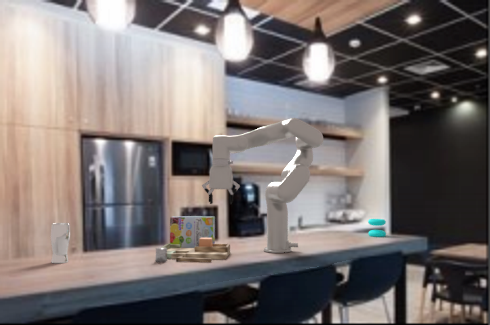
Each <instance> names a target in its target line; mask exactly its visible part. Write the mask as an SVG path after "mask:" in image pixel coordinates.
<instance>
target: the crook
mask: <svg viewBox="0 0 490 325" xmlns="http://www.w3.org/2000/svg"><path fill="white" fill-rule="evenodd" d="M212 260H213V259H212V258H184V256H179V257H177V258H176V259H175V262H182V261H190V262H189V263H191V262H192V263H212V262H211V261H212Z"/></svg>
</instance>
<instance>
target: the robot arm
mask: <svg viewBox="0 0 490 325" xmlns="http://www.w3.org/2000/svg"><path fill="white" fill-rule="evenodd" d="M294 137H295V145H296V153H295V155H294V157H293V158H292V160H291V161H290V162H289V163H288V164H287V165H286V166H285V168H284V169H283V170H282V171H281V174H280V175H281V176H280V178H281V181H273V182H270V183H269V184H268V185H267V186H266V189H265V193H264V196H265V201H266V202H265V203H266V247H263V252H266V253H273V254H280V253H282V254H284V252H285V253H290V252H292V248H299V243H298V242H290V241H289V233H288V232H289V231H288V230H289V229H288V228H289V223H288V222H289V221H288V219H289V217H288V216H289V215H288V213H289V212H288V204H289V203H291V202H293V201H294V200H295V199H296V198H297V197H298V196H299V195H300V193H301V192H302V191H303V190H304V188H305V187H306V186H307V184H308V183H309V181H310V179H311V171H310V167H311V165H312V164H313V160H314V152H313V149H315V148H318V147H320V146H321V145H322V144H323V142H324V136H323V133H322V132H321V131H320V130H319V129H318V128H316V127H315V126H313V125H311V124H309V123H307V122H305V121H304V120H302V119H299V118H296V117H291V118H288V119H284V120H280V121H278V122H275V123H271V124H268V125H265V126H261V127H258V128H257V129H254V130H251V131H248V132H245V133H243V134H238V135H225V134H224V135H223V134H222V135H221V134H219V135H214V136H213V137H212V166H211V167H210V170H209V178H208V180H207V181H206V182H205V183H203V184H202V185H201V186H202V187H201V188H202V189H203V190H204V192H206V193H207V195H208V203H209V204H210V205H213V203H214V201H213V200H214V199H213V198H214V195H213V192H214V191H215V190H228V193H229V195H228V201H229V202H228V204H229V205H232V203H233V202H234V194H235V193H236V192H238V189H239V188H240V187H241V186H240V184H238V183H237V182H236V181H234V177H233V169H232V166H231V165H234V160H231V158H230V156H231V155H230V154H232V155H233V154H239V153H242V152H245V151H247V150H250V149H253V148H254V149H255V148H257V147H259V148H260V147H265V146H268V145H271V144H274V143H277V142H280V141H283V140H287V139H289V138H294ZM207 186H208V187H207ZM233 186H235V187H234V189H233ZM208 188H209V189H208Z"/></svg>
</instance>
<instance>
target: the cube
mask: <svg viewBox="0 0 490 325" xmlns="http://www.w3.org/2000/svg"><path fill="white" fill-rule="evenodd" d="M199 247H213V238H200V239H199Z"/></svg>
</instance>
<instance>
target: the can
mask: <svg viewBox="0 0 490 325" xmlns="http://www.w3.org/2000/svg"><path fill="white" fill-rule="evenodd" d="M167 262H168V259H167V248H160V247H156V248H155V263H167Z"/></svg>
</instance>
